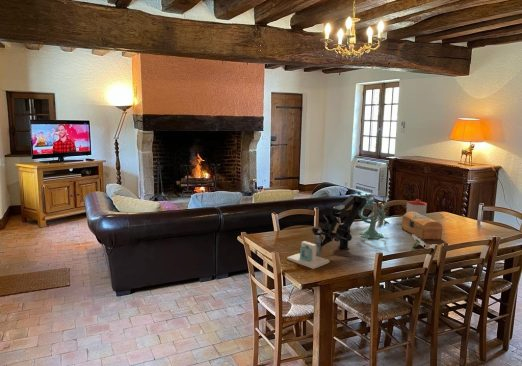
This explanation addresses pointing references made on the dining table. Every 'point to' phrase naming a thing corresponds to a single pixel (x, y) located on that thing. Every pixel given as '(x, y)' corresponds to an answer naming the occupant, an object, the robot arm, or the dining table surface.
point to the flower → (418, 240)
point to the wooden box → (421, 226)
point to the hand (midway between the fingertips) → (319, 245)
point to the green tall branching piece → (371, 232)
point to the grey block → (318, 245)
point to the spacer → (307, 253)
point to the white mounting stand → (315, 259)
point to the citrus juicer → (417, 207)
